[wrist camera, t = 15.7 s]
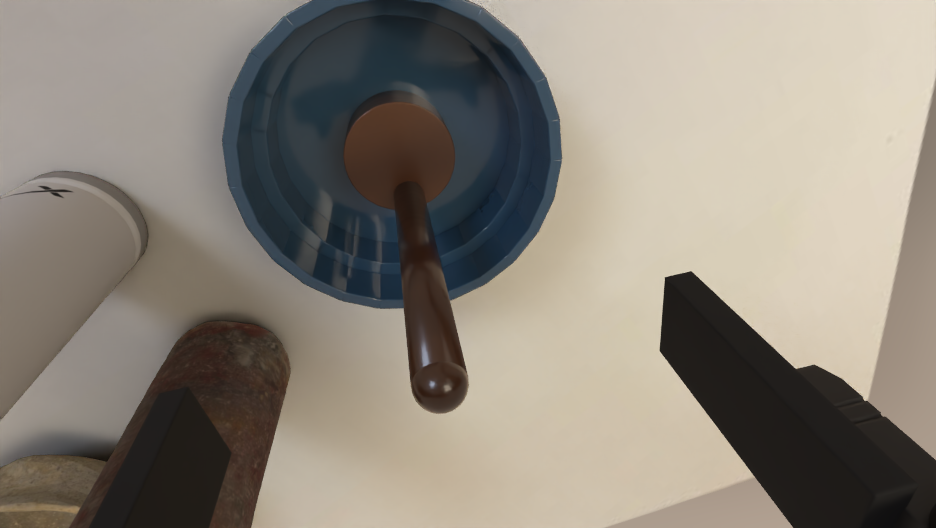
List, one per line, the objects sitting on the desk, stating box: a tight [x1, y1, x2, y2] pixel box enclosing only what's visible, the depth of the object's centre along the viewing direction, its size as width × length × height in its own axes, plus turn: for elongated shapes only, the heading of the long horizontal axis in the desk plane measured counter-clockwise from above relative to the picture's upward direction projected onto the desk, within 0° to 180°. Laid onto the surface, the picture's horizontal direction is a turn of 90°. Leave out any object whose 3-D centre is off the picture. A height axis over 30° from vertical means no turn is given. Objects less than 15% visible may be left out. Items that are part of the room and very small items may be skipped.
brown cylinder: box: [69, 321, 290, 528], centre depth 24 cm, size 8×7×20 cm
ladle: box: [343, 90, 469, 414], centre depth 19 cm, size 6×6×18 cm
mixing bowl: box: [222, 0, 562, 309], centre depth 25 cm, size 15×15×6 cm
